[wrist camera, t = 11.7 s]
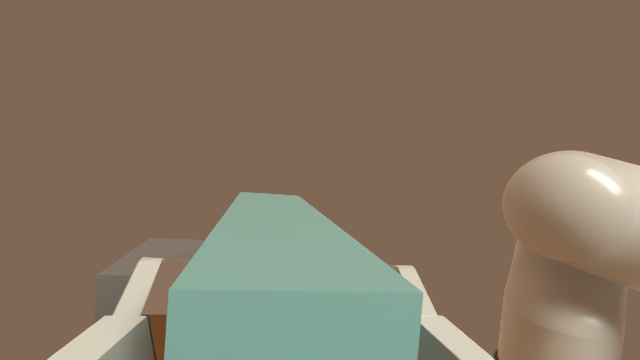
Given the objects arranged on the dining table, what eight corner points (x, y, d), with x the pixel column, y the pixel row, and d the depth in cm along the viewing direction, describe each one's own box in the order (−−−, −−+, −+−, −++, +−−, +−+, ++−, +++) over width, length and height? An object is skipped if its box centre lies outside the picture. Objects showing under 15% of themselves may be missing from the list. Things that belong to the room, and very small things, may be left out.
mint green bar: (295, 237, 23) (298, 195, 23) (407, 467, 6) (423, 292, 5) (237, 235, 22) (240, 192, 22) (154, 490, 5) (168, 289, 5)
